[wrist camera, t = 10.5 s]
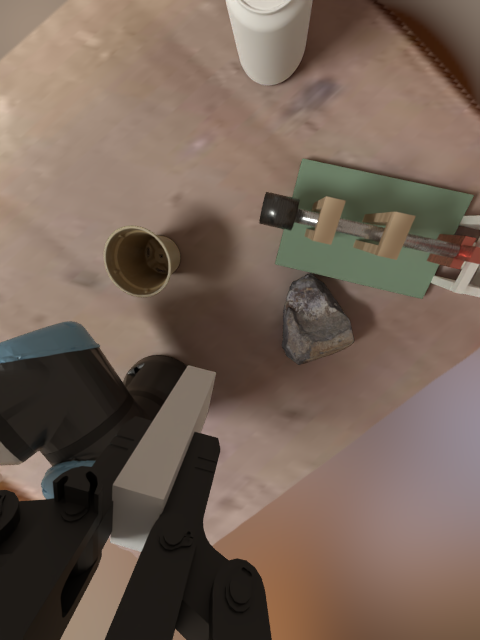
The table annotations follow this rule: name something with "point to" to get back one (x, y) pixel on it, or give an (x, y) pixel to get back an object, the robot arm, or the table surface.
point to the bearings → (393, 221)
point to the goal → (464, 268)
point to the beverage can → (270, 36)
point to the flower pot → (140, 260)
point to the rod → (371, 232)
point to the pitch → (368, 198)
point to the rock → (313, 322)
